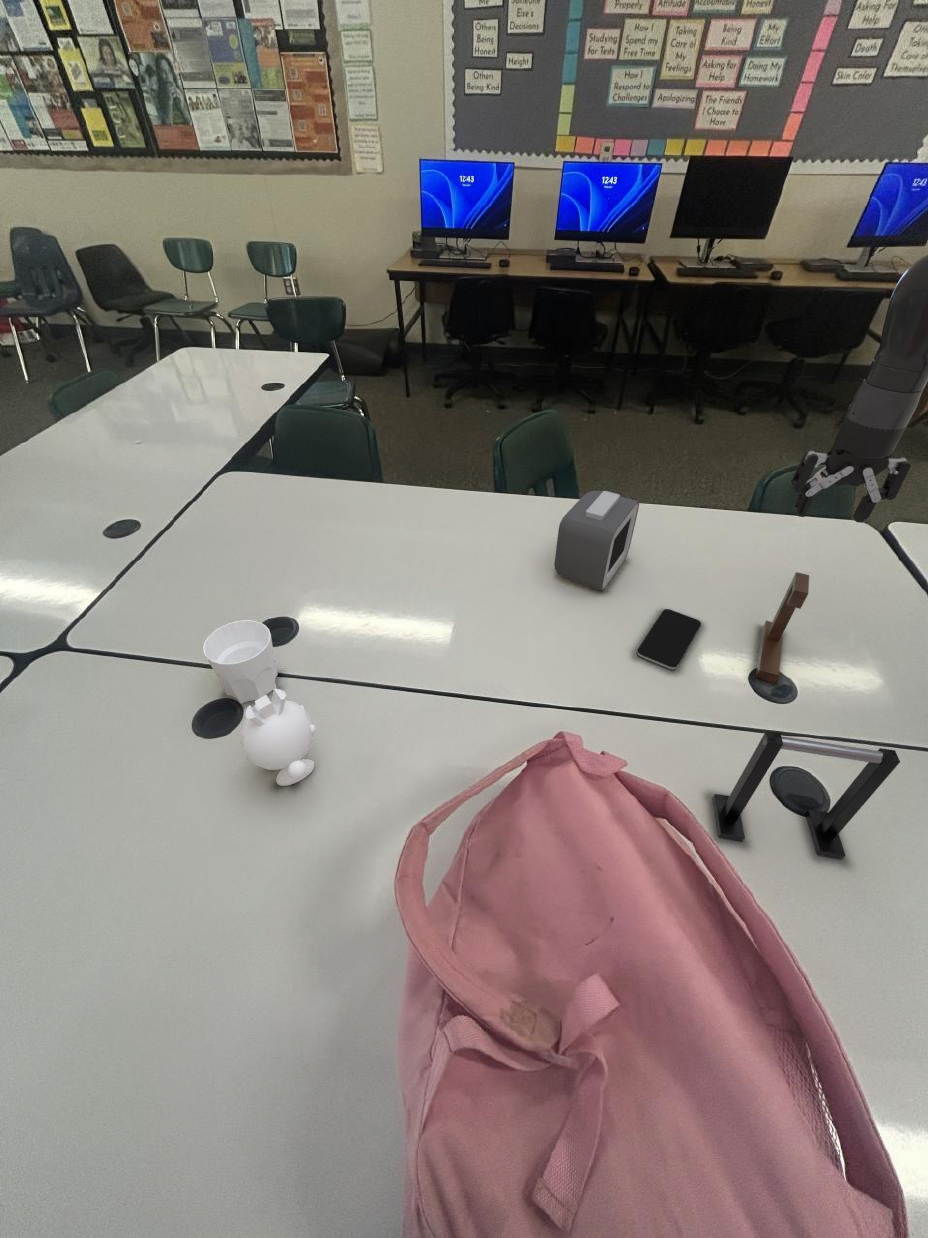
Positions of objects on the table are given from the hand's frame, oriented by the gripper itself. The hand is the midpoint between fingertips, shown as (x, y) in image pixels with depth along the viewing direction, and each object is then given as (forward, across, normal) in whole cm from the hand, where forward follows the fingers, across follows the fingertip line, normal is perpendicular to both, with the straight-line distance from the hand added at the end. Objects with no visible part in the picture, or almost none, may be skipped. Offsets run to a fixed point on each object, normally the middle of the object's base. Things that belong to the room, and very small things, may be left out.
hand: (828, 517), depth 90 cm
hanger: (+23, -3, -8) cm, 25 cm away
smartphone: (+23, -20, -8) cm, 32 cm away
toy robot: (+23, -76, -46) cm, 92 cm away
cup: (+23, -89, -32) cm, 98 cm away
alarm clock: (+23, -35, +12) cm, 44 cm away
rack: (+23, -9, -43) cm, 50 cm away
